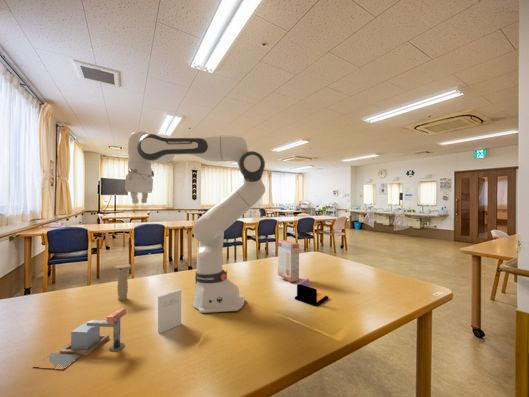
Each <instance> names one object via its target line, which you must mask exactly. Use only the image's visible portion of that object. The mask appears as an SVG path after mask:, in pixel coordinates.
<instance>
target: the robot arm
mask: <svg viewBox="0 0 529 397" xmlns="http://www.w3.org/2000/svg"><path fill="white" fill-rule="evenodd" d="M127 155H128V161H127V173H126V175H125V180H124V189H125V192H126V193H130V197H131V202H132V203H131V204H139V198H138V193H140V194H141V195H142V196H141V203H142V204H147V202H148V197H149V194H150V193H152V192H153V187H154V179H153V178H154V176H155V172H154V170H153V169H152V163H153V162H154V163H158V164H162V165H164V164H165V165H167V164H169V163H170V162H172V161H173V159H174V158H175V155H176V156H177V155H179V156H180V155H191V156H195V157H198V158H199V159H200V158H201V159H203V160H205V161H209V162H216V163H217V162H221V163H222V162H235V163H237V164H238V168H239V171H240V173H241V175H242V176H243V180H242V181H241V182H240V184H239V185H237V186H236V187H235V188H234V189H232V190H231V192H229V193H228V194H227V195H226V196H224V198H222V199H221V200H220V201H218V203H216V204H214V205H213V206H212V207H211V208H209V209H208V210H207V211H206V212H205V213H204V214H202V215H201V216H200V217H199V218H198V219H196V220H195V222H194V224H193V226H192V234H193V237H194V238H195V239H196V240H198V247H197V252H196V271H195V278H194V279H195V290H194V291H195V293H194V297H193V301H192V306H193V308H195V309H197V310H198V311H199V313H201V314H202V313H204V314H205V313H219V312H220V313H222V312H236V311H239V310H240V309H242V308H243V306H244V304H245V296H244V295H242V294H240V289H239V287H238V285H237V284H235V283H234V282H233V281H231V280H230V279H229V278H227V277H228V271H227V270H224V269H223V250H224V249H223V248H224V238H225V231H226V230H227V229H229V227H231V226H232V225H234V223H235V222H236V221H238V220H239V219H240V218H242V216H243V215H245V214H246V213H247V212H248V211H249V210H250V209H251V208H253V206H255V205H256V204H257V203H258V201H259V200H261V198H262V197H263V195H264V194H265V192H266V186H265V183H263V181H262V180H261V179H262V177H263V174H264V171H265V167H266V163H265V162H266V161H265V159H264V156H263V155H262V154H260V153H259V152H258V151H254V150H253V151H250V150H249V149H248V143H247V141H246V140H245V138H244V137H242V136H237V135H236V136H235V135H212V136H203V137H202V136H201V137H162V136H160V135H157V134H155V133H154V134H153V133H148V132H146V131H136V132H132V133H131V134H129V136H128V142H127Z"/></svg>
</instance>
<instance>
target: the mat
mask: <svg viewBox="0 0 529 397" xmlns="http://www.w3.org/2000/svg"><path fill="white" fill-rule="evenodd" d="M80 356H81V354H60V352H58V353H57V352H55V353H54V352H51V353H50V354H49V355H46V357H49V361H50V363H51V362H52V363H53V365H54V367H55V368H56V366H57V365H58V364H59V365H60V364H61V365H62V366H63V368H64V367H66V366H68V365H69V364H70V363H72V362H73V361H74V360H76V359H77V358H78V359H79V357H80ZM81 357H82V356H81ZM81 357H80V358H81ZM47 359H48V358H47ZM78 359H77V360H78ZM77 360H76V361H77ZM52 363H51V364H52ZM73 363H74V362H73ZM73 363H72V364H73ZM61 365H60V366H61ZM60 366H59V367H60ZM62 366H61V367H62ZM57 367H58V366H57ZM68 367H69V366H68ZM63 368H62V369H63Z"/></svg>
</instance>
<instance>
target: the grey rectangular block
mask: <svg viewBox="0 0 529 397" xmlns="http://www.w3.org/2000/svg"><path fill="white" fill-rule="evenodd" d="M100 328H101V327H99V326H87V322H84V323H81V325H79V326H77V327H76V328H75V329H73V330H71V331H70V343H71V349H70V350H89V349H90V348H91V347H92V346H94V345H95V344H96V343H97V342H99V341H100V335H101V330H100Z"/></svg>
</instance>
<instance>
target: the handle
mask: <svg viewBox="0 0 529 397" xmlns="http://www.w3.org/2000/svg"><path fill="white" fill-rule="evenodd" d="M113 268H114V271H116V272H117V274H118V275H117V277H118V278H117V296H118V300H119V301H124V300H126V299H127V297H128V291H129V290H128V289H129V286H128V284H129V282H128V270H130V269H131V268H132V265H131V264H129V263H127V264H118V265H117V264H116V265H115V266H114V267H113Z"/></svg>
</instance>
